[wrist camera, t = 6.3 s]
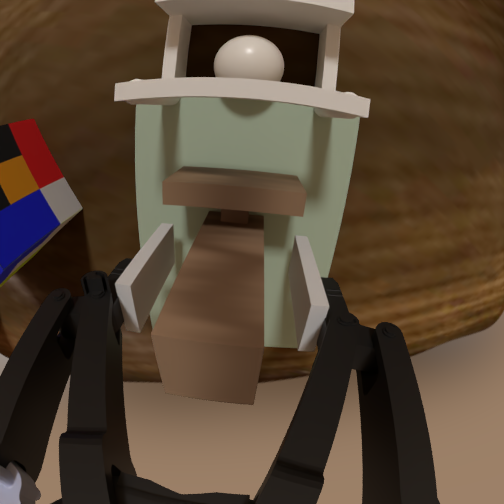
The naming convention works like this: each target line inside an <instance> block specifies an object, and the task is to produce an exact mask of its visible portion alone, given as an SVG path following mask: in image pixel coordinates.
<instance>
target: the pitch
mask: <svg viewBox="0 0 504 504" xmlns="http://www.w3.org/2000/svg"><path fill="white" fill-rule="evenodd" d="M155 3H156V4H157V5H158V6H160V7H161V8H162V9H163V10H164V11H165V12H166V13H167V14H168V15H169V16H170V17H169V23H168V30H167V37H166V44H165V52H164V61H163V71H162V79H150V80H140V79H134V80H131V81H130V82H123V83H116V84H115V98H114V101H126V102H127V103H129V104H136V124H135V174H136V198H137V214H138V227H139V238H140V248H142V247H143V246H144V244H145V243H146V242H147V241H148V239H149V238H150V237H151V236H152V234H153V233H154V232H155V231H156V230H157V228H158V227H159V226H160V225H161V223H168V224H173V227H174V252H175V264H174V266H173V268H172V269H171V271H170V273H169V275H168V277H167V279H166V281H165V283H164V285H163V287H162V289H161V291H160V293H159V295H158V297H157V299H156V301H155V303H154V305H153V307H152V309H151V311H150V317H151V323H152V328H154V326H155V324H156V321H157V319H158V317H159V314H160V312H161V310H162V308H163V305H164V303H165V301H166V299H167V297H168V294H169V292H170V290H171V288H172V286H173V284H174V281H175V279H176V277H177V275H178V273H179V271H180V269H181V267H182V264H183V262H184V260H185V258H186V256H187V254H188V252H189V250H190V248H191V246H192V244H193V242H194V240H195V238H196V236H197V234H198V232H199V230H200V228H201V226H202V224H203V222H204V220H205V218H206V216H207V214H208V212H209V211H217V212H221V209H217V208H205V207H191V206H177V205H163V198H162V181H164V180H165V179H166V178H168V177H169V176H171V175H172V174H173V173H175V172H176V171H178V170H179V169H180V168H182V167H183V166H192V167H210V168H225V169H238V170H250V171H260V172H270V173H279V174H288V175H296V176H298V178H299V180H300V182H301V184H302V185H303V187H304V189H305V191H306V193H307V197H306V203H305V209H304V215H303V217H299V216H290V215H281V214H271V213H261V212H251V211H249V214H251V215H261V216H264V346H267V347H283V348H298V346H297V338H296V330H295V322H294V314H293V306H292V298H291V291H290V284H289V276H288V272H289V266H290V261H291V255H292V250H293V244H294V238H295V235H298V236H307V237H308V240H309V243H310V246H311V249H312V252H313V255H314V258H315V261H316V264H317V267H318V271H319V274H320V277H326V278H327V277H328V273H329V270H330V266H331V262H332V258H333V254H334V250H335V246H336V242H337V238H338V233H339V229H340V225H341V220H342V216H343V211H344V206H345V202H346V197H347V192H348V187H349V181H350V176H351V171H352V165H353V159H354V153H355V147H356V141H357V134H358V127H359V120H360V117H365V118H368V114H369V107H370V99H367V98H363V97H359V96H357V95H356V94H354V93H351V92H345V93H342V92H338V91H335V89H336V79H337V69H338V58H339V45H340V31H341V26H342V25H343V24H344V23H345V22H346V21H347V20H348V19H349V18H350V17H351V16H352V15H353V14H354V0H155ZM212 24H230V25H254V26H267V27H277V28H285V29H293V30H300V31H306V32H312V33H317V34H320V35H319V47H318V58H317V69H316V79H315V87H312V86H306V85H300V84H293V83H286V82H278V81H268V80H258V79H244V78H223V77H186V70H187V60H188V51H189V43H190V35H191V28H192V25H212Z"/></svg>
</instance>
